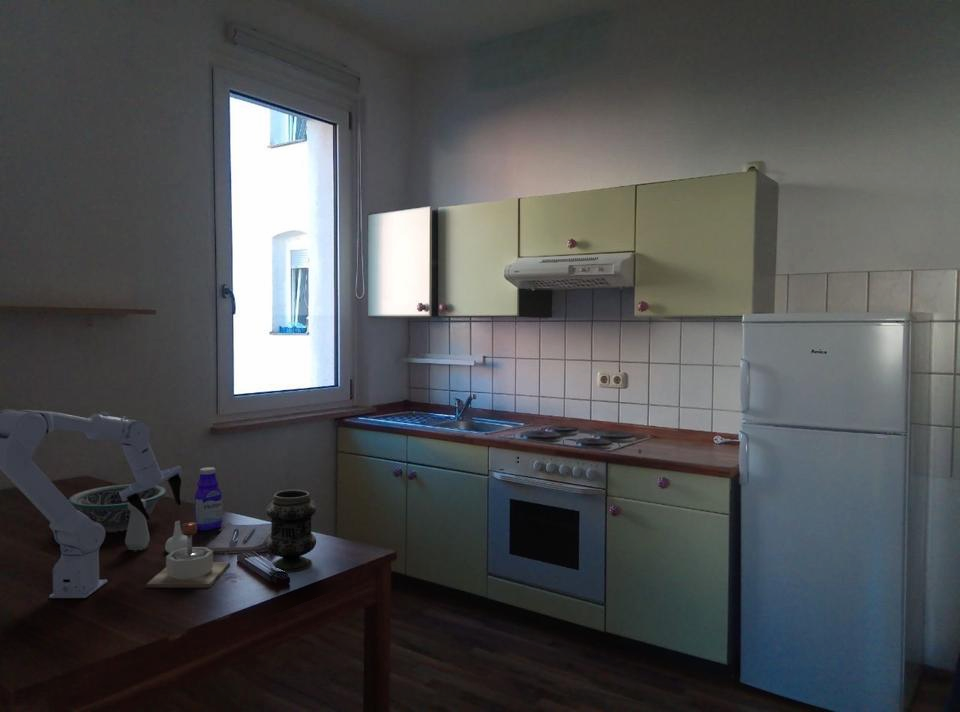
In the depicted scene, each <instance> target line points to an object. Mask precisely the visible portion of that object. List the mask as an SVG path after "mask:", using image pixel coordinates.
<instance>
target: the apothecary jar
mask: <svg viewBox="0 0 960 712" xmlns="http://www.w3.org/2000/svg"><path fill="white" fill-rule="evenodd" d="M316 511H317V506H316V503H315V502H314V501H313V500H311V497H310V492H309V491H306V490H301V489H286V490H285V489H284V490H280V491H277V492H275V493H274V494H273V500H272V501H271V502H270V503H269V504H268V505H267V508H266V515H267V516H268V517H269V518H270V519H271V531H270V535H269V536H268V537H267V538H266V541H265V548H266V551H267V552H268V553H270V554H271V555H273V556H276V557H280V558H279V559H277V560H274V561H273V562H272V563H271V564H273V565H274V566H275V567H276V568H279V569H281V570H283V571H285V572H284V573H295V572H300V571H304V570H306V569H309V568H310V567H311V566H312V565H313V561H312V560H311V559H310V558H308V557H305V556H304V555H307V554H308V553H310V552H312V551H313V550H314V548H315V547H316V545H317V538H316V536H315V534H313V533H312V517H313V516H314V514H316Z"/></svg>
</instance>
